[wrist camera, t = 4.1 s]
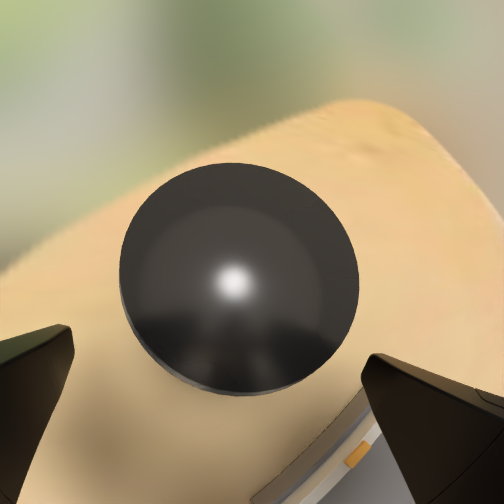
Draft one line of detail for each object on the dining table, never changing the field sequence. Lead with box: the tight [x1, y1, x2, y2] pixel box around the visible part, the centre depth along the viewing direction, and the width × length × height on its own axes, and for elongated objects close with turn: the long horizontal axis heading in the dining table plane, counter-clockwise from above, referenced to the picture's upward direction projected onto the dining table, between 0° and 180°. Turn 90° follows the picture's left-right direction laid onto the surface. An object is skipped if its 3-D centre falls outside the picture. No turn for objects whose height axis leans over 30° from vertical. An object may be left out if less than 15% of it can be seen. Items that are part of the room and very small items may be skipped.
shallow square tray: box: [250, 387, 415, 504], centre depth 15 cm, size 11×12×4 cm
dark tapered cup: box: [119, 163, 359, 396], centre depth 13 cm, size 6×6×13 cm
